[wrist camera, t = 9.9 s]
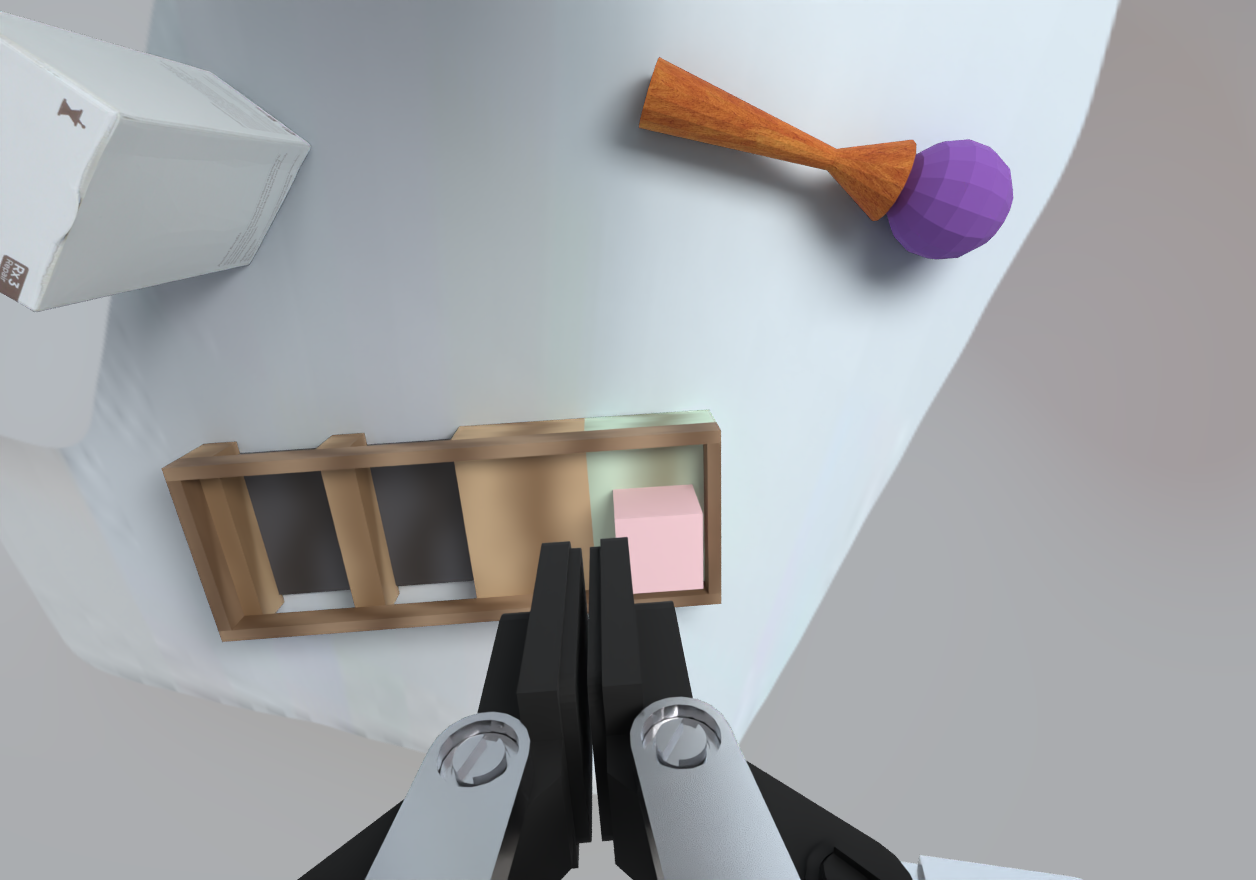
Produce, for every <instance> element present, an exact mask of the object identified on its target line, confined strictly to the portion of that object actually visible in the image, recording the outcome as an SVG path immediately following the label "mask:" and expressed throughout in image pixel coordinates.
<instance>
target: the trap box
mask: <svg viewBox="0 0 1256 880" xmlns="http://www.w3.org/2000/svg"><path fill="white" fill-rule="evenodd" d="M162 471H163V474H164V477H165V480H166V483H167V486H168V488H169V491H170V494H171V497H172V500H173V503H174V505H175V508H176V511H177V514H178V517H179V520H180V523H181V525H182V528H183V531H184V534H185V537H186V540H187V543H188V545H189V548H190V551H191V554H192V557H193V560H194V563H195V565H196V568H197V571H198V574H199V577H200V580H201V582H202V585H203V588H204V591H205V594H206V597H207V600H208V602H209V605H210V608H211V611H212V614H213V617H214V620H215V622H216V625H217V628H218V631H219V634H220V637H221V640H222V642H226V641H239V640H252V639H265V638H279V637H292V636H305V635H318V634H331V633H344V632H357V631H370V630H383V629H396V628H409V627H423V626H436V625H449V624H462V623H475V622H488V621H500V618H501V615H502V614H504V613H518V612H530V610H531V604H532V598H533V592H534V586H535V580H536V574H537V568H538V562H539V556H540V550H541V545H542V543H550V542H564V541H570V543H571V548H581V549H582V558H583V568H584V579H585V590H586V600H587V611H588V612H589V560H590V547H596V546H600V539H605V538H616V533H615V518H614V501H613V490H614V489H629V488H644V487H659V486H674V485H689V484H692V485H693V488H694V490H695V493H696V496H697V499H698V502H699V504H700V507H701V510H702V513H703V589H692V590H678V591H664V592H650V593H636V594H633V596H634V604H636V603H649V602H662V601H673V603H674V607H684V606H697V605H711V604H721V430H720V428H719V426H718V424H717V423H716V421H715V419H714V417H713V416H712V414H711V412H710V411H709V410H697V411H682V412H667V413H652V414H638V415H623V416H608V417H593V418H578V419H564V420H549V421H534V422H519V423H505V424H490V425H475V426H460V427H459V428H458V429H457V431H456V432H455V434H454V436H453V437H452V439H444V440H429V441H415V442H400V443H385V444H371V445H367V443H366V438H365V434H364V433H357V434H342V435H332V436H331V437H330V438H328V439H327V440H326V441H325V442H324V443H322V444H321V445H320V446H319V447H318V448H312V449H297V450H283V451H268V452H253V453H240V452H239V449H238V446H237V442H224V443H209V444H203V445H201V446H200V447H198V448H196V449H194V450H193V451H191V452H189V453H188V454H186V455H184V456H182V457H181V458H179V459H177V460H176V461H174V462H172V463H170V464H169V465H167V466H165V467H163V468H162ZM472 580H474V583H475V589H476V595H477V598H474V599H461V600H448V601H434V602H421V603H408V604H395V605H394V603H395V601H396V599H397V597H398V595H399V589H398V586H404V585H418V584H431V583H445V582H458V581H472ZM337 590H351V593H352V597H353V601H354V605H355V608H342V609H328V610H315V611H302V612H288V613H276V612H277V610H278V609H279V608H280V607H281V605H282V604H283V603H284V599H283V596H282V595H284V594H297V593H311V592H324V591H337Z"/></svg>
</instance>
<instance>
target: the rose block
mask: <svg viewBox="0 0 1256 880" xmlns="http://www.w3.org/2000/svg"><path fill="white" fill-rule="evenodd" d="M613 501H614V518H615V533H616V538H619V537H628V545H629V555H630V565H631V576H632V586H633V594H636V593H650V592H664V591H678V590H692V589H703V513H702V510H701V507H700V504H699V502H698V499H697V496H696V493H695V490H694V488H693V485H692V484H689V485H674V486H659V487H644V488H629V489H614V490H613Z"/></svg>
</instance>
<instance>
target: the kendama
mask: <svg viewBox="0 0 1256 880" xmlns="http://www.w3.org/2000/svg"><path fill="white" fill-rule="evenodd" d="M639 128H642V129H646V130H651V131H655V132H660V133H664V134H669V135H673V136H677V137H682V138H686V139H691V140H695V141H699V142H704V143H708V144H713V145H717V146H722V147H726V148H730V149H735V150H739V151H744V152H748V153H753V154H757V155H761V156H766V157H770V158H775V159H779V160H784V161H788V162H792V163H797V164H801V165H806V166H810V167H815V168H819V169H823V170H827V171H828V172H829V173H830V174H831V175H832V176H833V178H834V179H835V180H836V181H837V182H838V183H839V184H840V185H841V186H842V188H843V189H844V190H845V191H846V192H847V193H848V194H849V195H850V197H851V198H852V199H853V200H854V201H855V202H856V203H857V204H858V205H859V207H860V208H861V209H862V210H863V211H864V212H865V213H866V214H867V216H868V217H869V218H870V219H871V220H872V221H878V220H879V219H880V218H882V217H883V216H884V215H885V214H887V217H888V221H889V224H890V228H891V231H892V233H893V235H894V237H895V238H896V239H897V240H898V241H899V243H900V244H901V245H902V246H903V247H904V248H905V249H906V250H907V251H908V252H911V253H914V254H917V255H919V256H922V257H925V258H929V259H947V258H958V257H960V256H962V255H964V254H966V253H968V252H970V251H972V250H974V249H976V248H978V247H980V246H982V245H983V244H985V243H987V242H988V241H989V240H990V239H991V238H992V237H993V236H994V235H995V234H996V232H997V231H998V230H999V228H1000V227H1001V226H1002V224H1003V223H1004V221H1005V219H1006V217H1007V215H1008V213H1009V211H1010V208H1011V204H1012V201H1013V188H1012V180H1011V173H1010V169H1009V167H1008V166H1007V165H1006V164H1005V163H1004V162H1003V160H1002V159H1001V158H1000V157H999V156H998V154H997V153H996V152H995V151H994V150H993V149H991V148H990V147H988V146H986V145H983V144H980V143H978V142H975V141H972V140H969V139H968V140H956V141H945V142H942V143H938V144H935V145H933V146H932V147H930V148H928V149H926V150H924V151H922V152H920V153H918V154H916V143H915V142H914V140H906V141H898V142H890V143H881V144H873V145H865V146H857V147H849V148H840V149H836V148H834V147H832V146H830V145H828V144H826V143H824V142H822V141H820V140H818V139H816V138H814V137H812V136H811V135H809V134H807V133H805V132H803V131H801V130H799V129H797V128H795V127H793V126H791V125H789V124H787V123H785V122H783V121H782V120H780V119H778V118H776V117H774V116H772V115H770V114H768V113H766V112H764V111H762V110H760V109H758V108H756V107H755V106H753V105H751V104H749V103H747V102H745V101H743V100H741V99H739V98H737V97H735V96H733V95H731V94H729V93H727V92H726V91H724V90H722V89H720V88H718V87H716V86H714V85H712V84H710V83H708V82H706V81H704V80H702V79H700V78H698V77H697V76H695V75H693V74H691V73H689V72H687V71H685V70H683V69H681V68H679V67H677V66H675V65H673V64H671V63H670V62H668V61H666V60H664V59H662V58H660V57H659V58H658V61H657V63H656V66H655V69H654V72H653V75H652V78H651V81H650V85H649V88H648V92H647V95H646V99H645V102H644V106H643V110H642V114H641V118H640V123H639Z"/></svg>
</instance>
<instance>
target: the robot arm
mask: <svg viewBox="0 0 1256 880" xmlns="http://www.w3.org/2000/svg"><path fill="white" fill-rule="evenodd" d="M592 744H593V754H594V764H595V774H596V785H597V795H598V805H599V815H600V825H601V835H602V841H610V840H613V843H614V854H615V864H616V865H617V866H618V867H619V868H620V869H622V870H623V871H624V872H625V873H626V874H627V875H628V876H629V877H631V878H632V879H633V880H1083V879H1080V878H1077V877H1071V876H1065V875H1058V874H1051V873H1043V872H1036V871H1029V870H1022V869H1015V868H1008V867H1001V866H994V865H987V864H980V863H973V862H966V861H959V860H952V859H945V858H938V857H931V856H924V855H919V861H918V864H914V863H908V862H901V861H899V859H898V858H897V857H896V856H895V855H894V854H893V853H891V852H890V851H889V850H888V849H886V848H885V847H884V846H882V845H881V844H880V843H879V842H877V841H875V840H874V839H872V838H871V837H869V836H867V835H866V834H864V833H862V832H861V831H859V830H858V829H856V828H854V827H853V826H851V825H850V824H848V823H846V822H845V821H843V820H841V819H840V818H838V817H837V816H835V815H833V814H832V813H830V812H828V811H827V810H825V809H824V808H822V807H820V806H819V805H817V804H816V803H814V802H812V801H810V800H809V799H807V798H806V797H804V796H803V795H801V794H799V793H798V792H796V791H795V790H793V789H791V788H790V787H788V786H786V785H785V784H783V783H782V782H780V781H778V780H777V779H775V778H773V777H772V776H770V775H769V774H767V773H765V772H764V771H762V770H761V769H759V768H757V767H756V766H754V765H753V764H751V763H749V762H748V761H746V760H745V757H744V755H743V753H742V751H741V749H740V747H739V744H738V742H737V740H736V738H735V736H734V733H733V731H732V729H731V727H730V725H729V723H728V722H727V720H726V719H725V717H724V716H723V715H722V713H720V712H719V711H718V710H717V709H715V708H714V707H713V706H712V705H710V704H708V703H705V702H703V701H701V700H698V699H694V698H693V697H692V692H691V687H690V682H689V677H688V672H687V667H686V662H685V657H684V652H683V647H682V642H681V637H680V632H679V627H678V622H677V617H676V612H675V607H674V603H673V601H662V602H649V603H636V604H634V596H633V586H632V576H631V565H630V555H629V545H628V537H619V538H605V539H600V546H596V547H590V560H589V612H588V611H587V600H586V590H585V579H584V568H583V558H582V549H581V548H571V543H570V541H564V542H550V543H542V545H541V550H540V556H539V562H538V568H537V574H536V580H535V586H534V592H533V598H532V604H531V610H530V612H518V613H504V614H502V615H501V618H500V621H499V625H498V629H497V633H496V637H495V642H494V646H493V650H492V654H491V658H490V663H489V667H488V671H487V675H486V679H485V684H484V688H483V692H482V696H481V700H480V705H479V709H478V713H477V714H474V715H471V716H468V717H465V718H463V719H461V720H459V721H457V722H456V723H454V724H452V725H450V726H449V727H448V728H447V729H445V730H444V731H443V732H442V733H441V734H440V735H439V736H438V737H437V738H436V740H435V741H434V742H433V744H432V745H431V747H430V748H429V750H428V752H427V754H426V756H425V758H424V760H423V762H422V764H421V766H420V769H419V770H418V773H417V775H416V777H415V779H414V781H413V783H412V785H411V787H410V789H409V791H408V793H407V795H406V797H405V799H404V800H402V801H401V802H400V803H398V804H397V805H396V806H395V807H393V808H392V809H390V810H389V811H388V812H386V813H385V814H384V815H382V816H381V817H380V818H379V819H377V820H376V821H375V822H373V823H372V824H371V825H369V826H368V827H367V828H365V829H364V830H363V831H361V832H360V833H359V834H358V835H356V836H355V837H353V838H352V839H351V840H349V841H348V842H347V843H346V844H344V845H343V846H342V847H340V848H339V849H338V850H336V851H335V852H334V853H332V854H331V855H330V856H328V857H327V858H326V859H324V860H323V861H322V862H320V863H319V864H318V865H316V866H315V867H314V868H312V869H311V870H310V871H308V872H307V873H306V874H304V875H303V876H302V877H300V878H299V879H298V880H561V879H562V878H563V877H564V876H565V875H566V874H567V873H568V871H570V869H572V868H578V860H579V843H587V842H591V841H592Z"/></svg>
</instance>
